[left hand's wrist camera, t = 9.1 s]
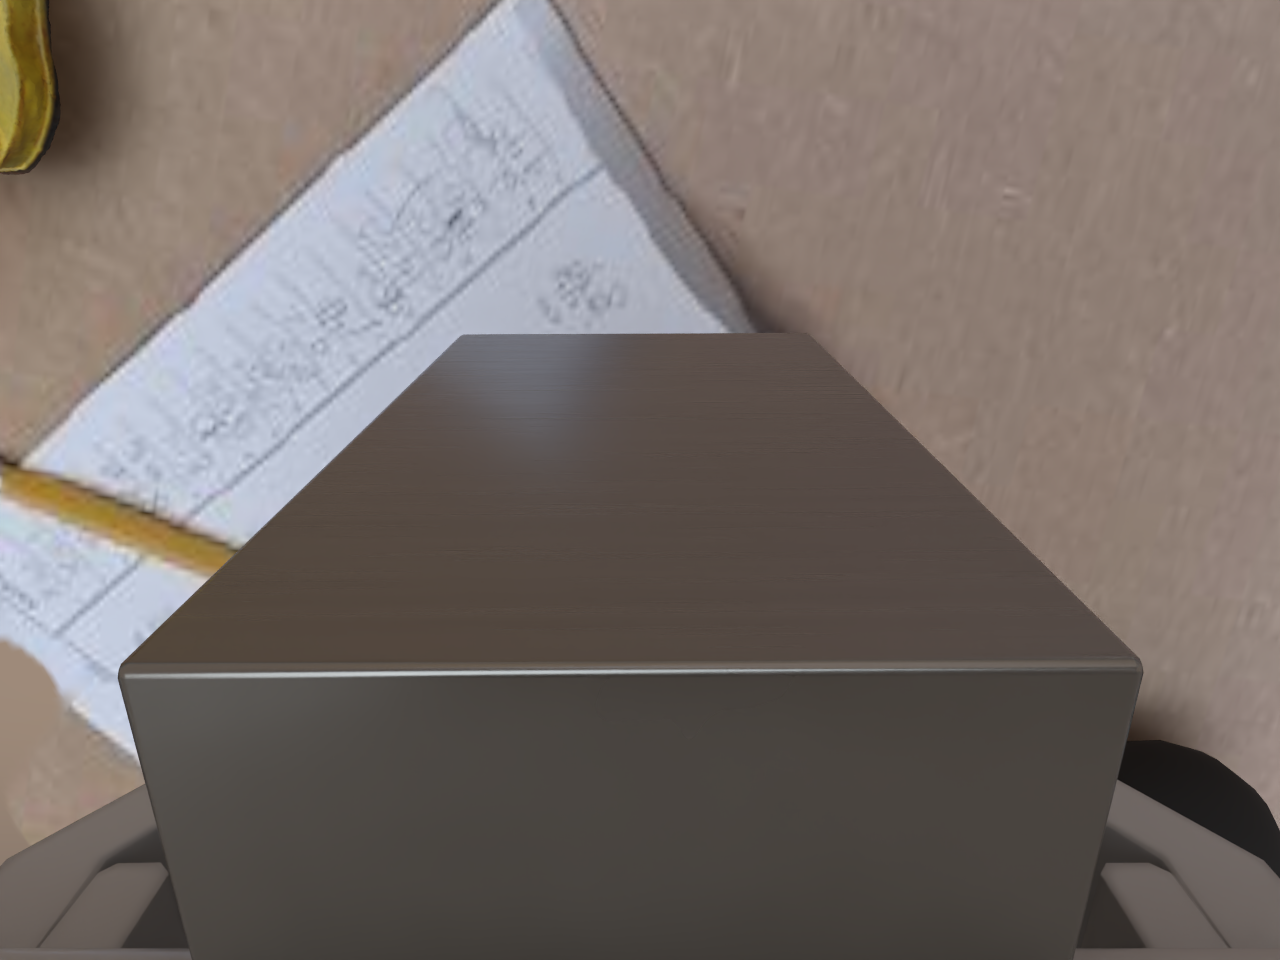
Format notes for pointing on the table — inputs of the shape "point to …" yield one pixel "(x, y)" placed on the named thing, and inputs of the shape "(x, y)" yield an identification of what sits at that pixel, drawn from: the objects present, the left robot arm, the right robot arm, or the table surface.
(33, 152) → the shrine
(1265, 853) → the bomb
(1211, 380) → the table surface
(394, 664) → the bar
